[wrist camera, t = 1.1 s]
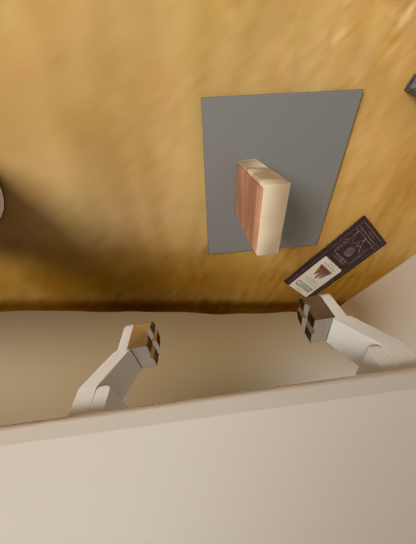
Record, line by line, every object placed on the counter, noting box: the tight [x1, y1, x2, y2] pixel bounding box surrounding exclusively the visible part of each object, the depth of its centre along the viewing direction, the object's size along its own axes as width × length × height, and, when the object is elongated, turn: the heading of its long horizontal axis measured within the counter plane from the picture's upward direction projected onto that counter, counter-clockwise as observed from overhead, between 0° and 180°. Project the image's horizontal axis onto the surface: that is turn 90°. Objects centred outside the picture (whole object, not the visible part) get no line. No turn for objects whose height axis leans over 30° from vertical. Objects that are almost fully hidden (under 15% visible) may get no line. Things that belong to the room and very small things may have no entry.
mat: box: [201, 89, 364, 254], centre depth 33 cm, size 20×22×1 cm
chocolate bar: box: [285, 216, 387, 297], centre depth 44 cm, size 9×1×18 cm
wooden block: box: [235, 159, 291, 256], centre depth 28 cm, size 3×8×12 cm, turn 2°
